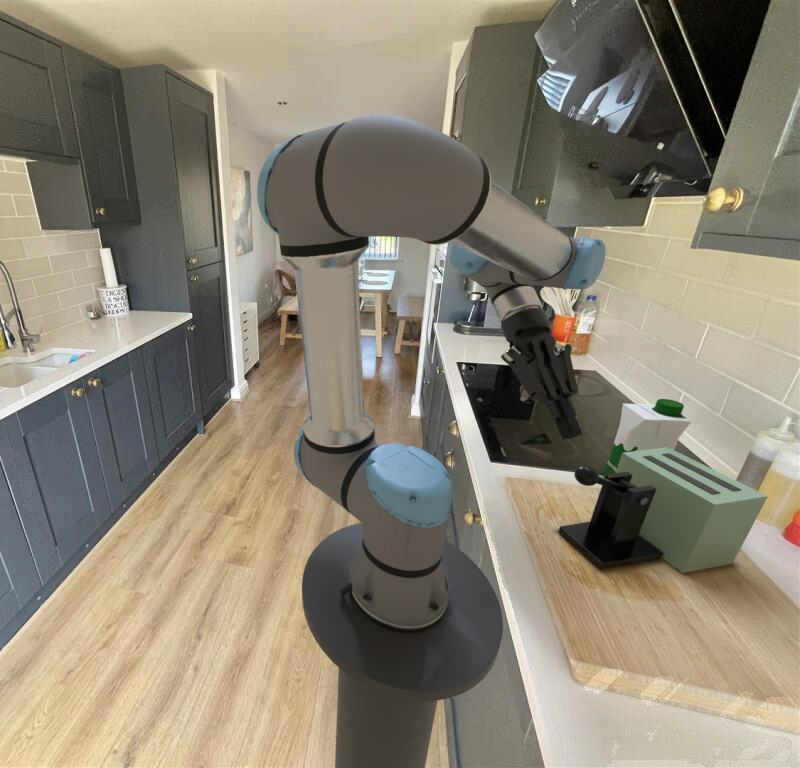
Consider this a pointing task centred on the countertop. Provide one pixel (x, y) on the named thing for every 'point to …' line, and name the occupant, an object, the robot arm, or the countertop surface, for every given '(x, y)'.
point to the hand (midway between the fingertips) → (572, 436)
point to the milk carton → (647, 429)
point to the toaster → (692, 508)
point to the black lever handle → (601, 480)
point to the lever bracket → (615, 527)
